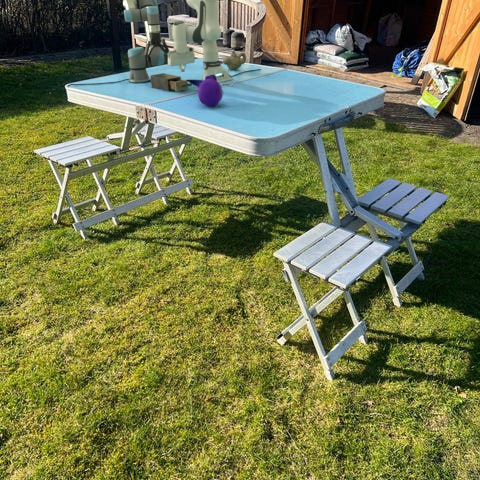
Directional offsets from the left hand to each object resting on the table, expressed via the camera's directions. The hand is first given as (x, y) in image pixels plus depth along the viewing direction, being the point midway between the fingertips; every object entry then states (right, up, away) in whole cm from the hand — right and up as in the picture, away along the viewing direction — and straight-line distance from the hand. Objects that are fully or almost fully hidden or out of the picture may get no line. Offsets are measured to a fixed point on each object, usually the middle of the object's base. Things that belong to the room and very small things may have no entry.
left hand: (158, 65), depth 314 cm
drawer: (+13, -18, -5) cm, 23 cm away
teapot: (+53, +19, +59) cm, 81 cm away
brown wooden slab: (+5, -15, +3) cm, 16 cm away
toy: (+37, -39, -39) cm, 67 cm away
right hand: (+19, -11, -16) cm, 27 cm away
